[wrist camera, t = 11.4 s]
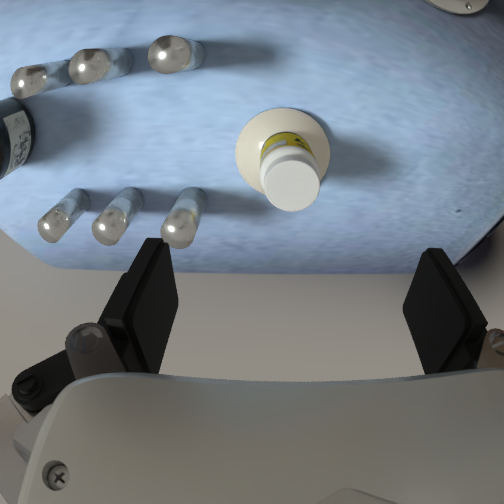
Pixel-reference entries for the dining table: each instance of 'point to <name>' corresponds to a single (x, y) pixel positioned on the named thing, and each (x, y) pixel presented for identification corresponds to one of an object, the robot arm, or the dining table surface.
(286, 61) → the dining table surface
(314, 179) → the supplement bottle
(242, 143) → the coaster
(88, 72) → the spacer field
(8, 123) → the ink bottle
